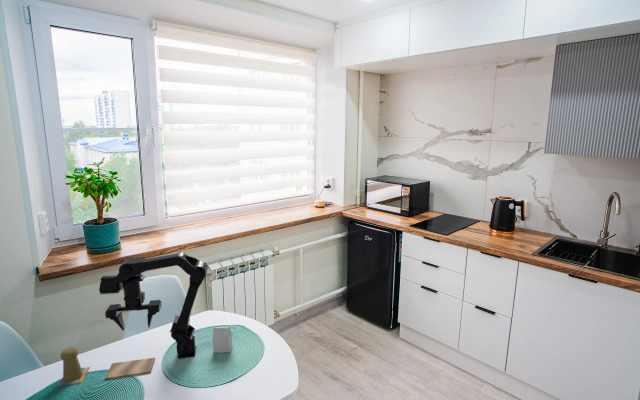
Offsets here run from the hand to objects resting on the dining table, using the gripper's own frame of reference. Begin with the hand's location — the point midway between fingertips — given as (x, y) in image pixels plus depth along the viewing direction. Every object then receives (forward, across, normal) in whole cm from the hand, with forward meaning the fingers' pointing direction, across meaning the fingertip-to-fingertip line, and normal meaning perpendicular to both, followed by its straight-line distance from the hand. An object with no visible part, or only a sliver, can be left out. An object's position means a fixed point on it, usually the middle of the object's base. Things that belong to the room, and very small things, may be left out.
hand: (136, 328), depth 142 cm
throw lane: (+13, +10, +6) cm, 18 cm away
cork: (+13, +21, +6) cm, 26 cm away
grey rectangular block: (+13, -32, +2) cm, 35 cm away
